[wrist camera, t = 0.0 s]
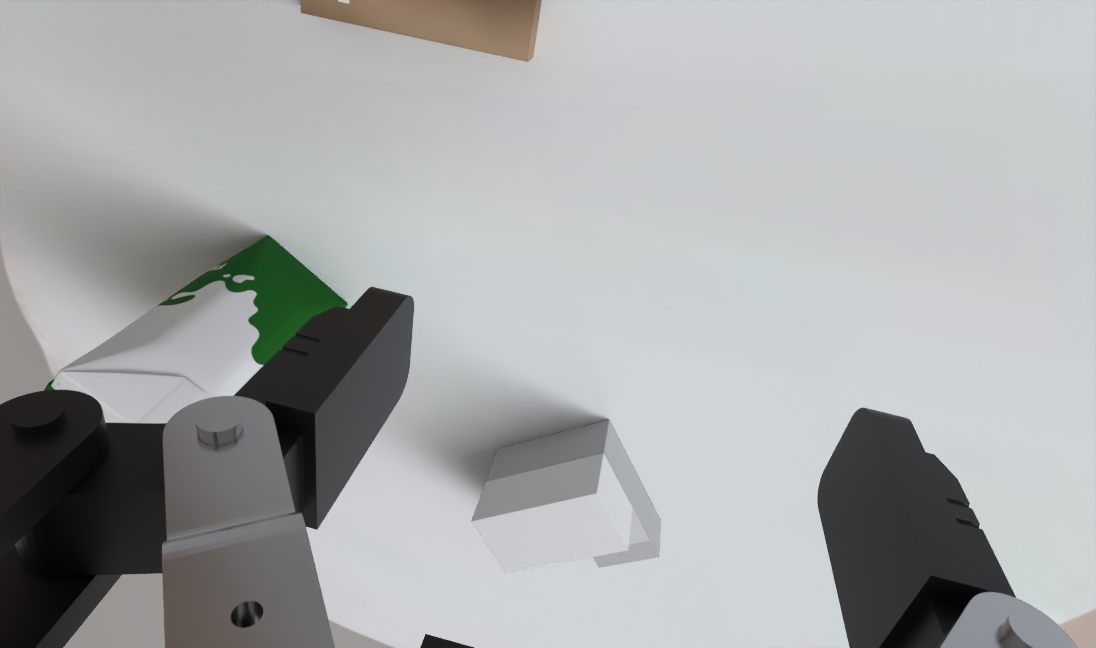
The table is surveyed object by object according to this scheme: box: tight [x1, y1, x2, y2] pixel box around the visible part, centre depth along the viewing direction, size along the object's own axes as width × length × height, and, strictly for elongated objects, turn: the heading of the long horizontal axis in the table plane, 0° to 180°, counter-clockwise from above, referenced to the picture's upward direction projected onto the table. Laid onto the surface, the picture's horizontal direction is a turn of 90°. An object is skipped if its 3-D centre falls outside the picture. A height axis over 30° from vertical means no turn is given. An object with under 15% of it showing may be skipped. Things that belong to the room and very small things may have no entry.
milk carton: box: [44, 236, 347, 423], centre depth 40 cm, size 9×9×20 cm
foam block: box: [471, 419, 661, 573], centre depth 50 cm, size 10×10×8 cm
